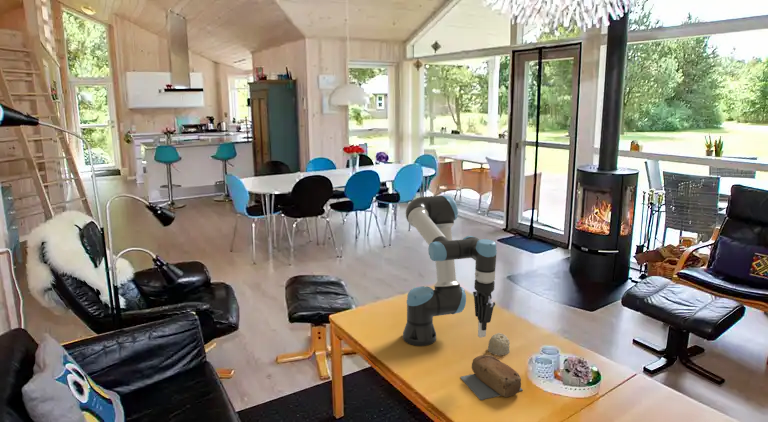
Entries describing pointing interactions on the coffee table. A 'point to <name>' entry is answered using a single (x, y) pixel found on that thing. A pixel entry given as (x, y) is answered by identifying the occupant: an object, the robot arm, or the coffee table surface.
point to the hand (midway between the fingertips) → (481, 336)
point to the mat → (480, 387)
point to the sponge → (499, 344)
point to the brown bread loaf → (496, 375)
